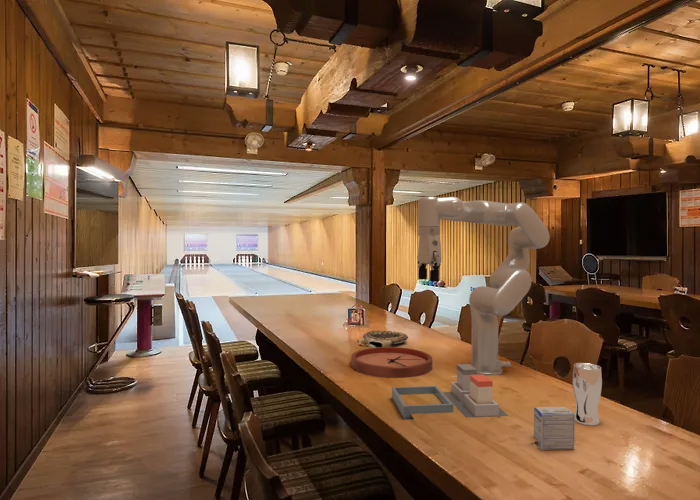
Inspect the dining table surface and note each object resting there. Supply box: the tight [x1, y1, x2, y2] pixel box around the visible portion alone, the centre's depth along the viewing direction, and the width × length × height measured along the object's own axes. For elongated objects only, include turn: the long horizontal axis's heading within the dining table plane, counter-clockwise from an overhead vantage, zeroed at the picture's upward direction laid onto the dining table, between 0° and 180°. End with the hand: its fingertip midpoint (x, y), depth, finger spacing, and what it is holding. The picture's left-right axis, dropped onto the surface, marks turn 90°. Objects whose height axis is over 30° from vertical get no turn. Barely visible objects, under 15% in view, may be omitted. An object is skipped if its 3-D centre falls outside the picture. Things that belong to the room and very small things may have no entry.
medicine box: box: [533, 406, 576, 451], centre depth 106 cm, size 8×4×9 cm, turn 92°
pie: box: [358, 329, 409, 348], centre depth 213 cm, size 28×27×5 cm
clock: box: [350, 346, 433, 379], centre depth 174 cm, size 31×4×31 cm
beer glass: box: [572, 362, 603, 427], centre depth 120 cm, size 7×7×15 cm
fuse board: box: [442, 381, 509, 418], centre depth 129 cm, size 12×20×4 cm, turn 6°
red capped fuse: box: [470, 375, 493, 404], centre depth 124 cm, size 4×6×9 cm, turn 6°
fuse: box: [456, 363, 477, 391], centre depth 135 cm, size 4×6×9 cm, turn 6°
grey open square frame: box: [391, 385, 454, 420], centre depth 130 cm, size 14×16×4 cm
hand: (428, 280), depth 157 cm, fingers open, 9 cm apart
